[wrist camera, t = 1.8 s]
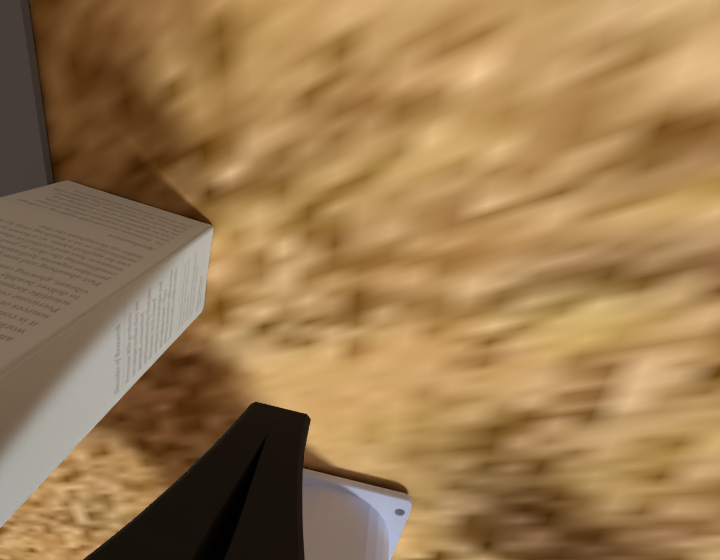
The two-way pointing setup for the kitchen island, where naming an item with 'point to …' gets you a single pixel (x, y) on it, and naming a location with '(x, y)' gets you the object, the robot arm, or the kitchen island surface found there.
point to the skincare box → (83, 316)
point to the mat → (21, 105)
